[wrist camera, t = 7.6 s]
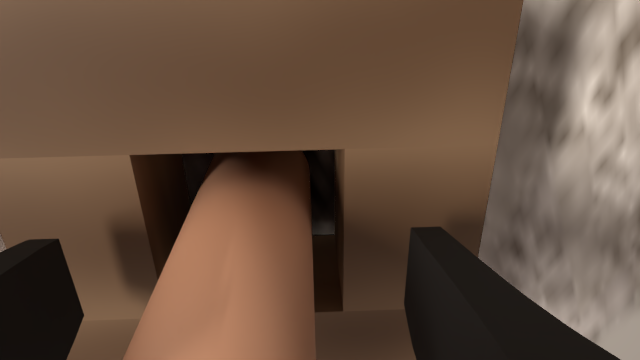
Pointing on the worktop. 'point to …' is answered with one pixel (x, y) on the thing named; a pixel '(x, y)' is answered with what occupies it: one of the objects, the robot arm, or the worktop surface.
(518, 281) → the worktop surface
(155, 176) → the walnut stand
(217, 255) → the peg
